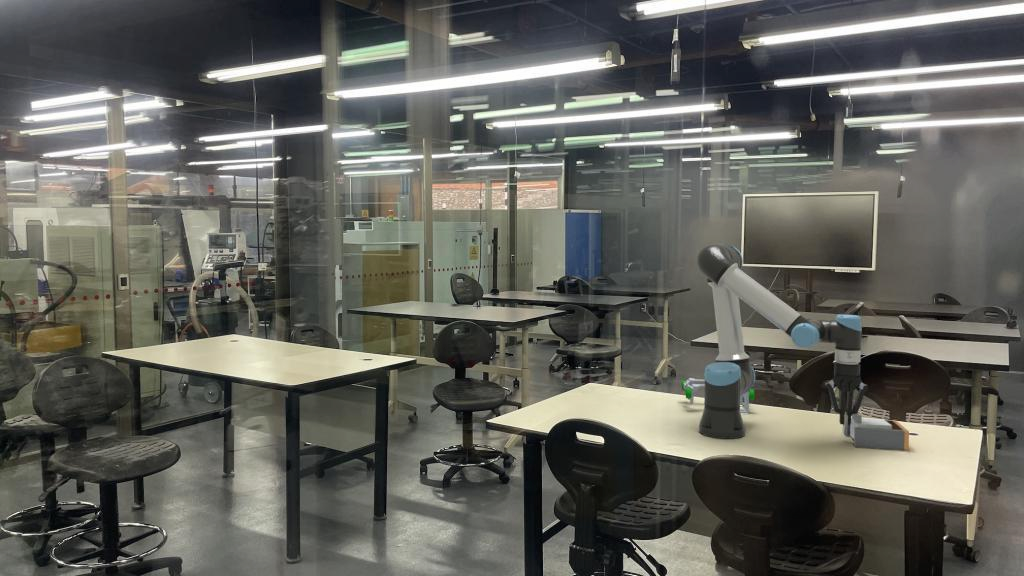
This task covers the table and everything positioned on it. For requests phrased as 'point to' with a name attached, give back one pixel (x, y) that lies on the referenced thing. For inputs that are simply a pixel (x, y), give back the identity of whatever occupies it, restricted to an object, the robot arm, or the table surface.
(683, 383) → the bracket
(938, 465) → the table surface
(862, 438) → the bay
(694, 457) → the table surface
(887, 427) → the white chamfered box
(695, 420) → the table surface
